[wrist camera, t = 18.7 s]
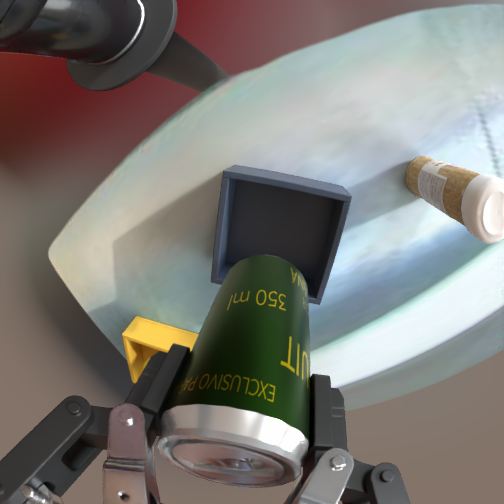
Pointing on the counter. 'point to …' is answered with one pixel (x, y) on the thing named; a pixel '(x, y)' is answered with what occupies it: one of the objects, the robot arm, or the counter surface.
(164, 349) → the yellow bin
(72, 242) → the counter surface
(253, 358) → the beer can
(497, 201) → the sprinkles bottle
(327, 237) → the slate bin
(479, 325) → the counter surface
